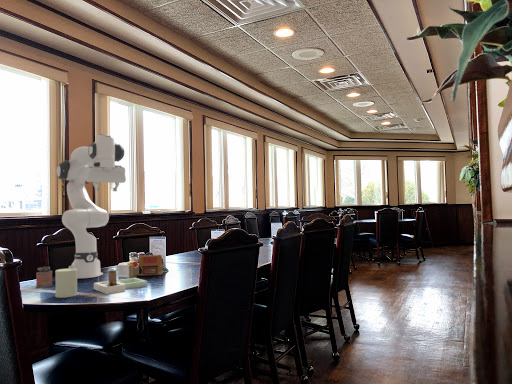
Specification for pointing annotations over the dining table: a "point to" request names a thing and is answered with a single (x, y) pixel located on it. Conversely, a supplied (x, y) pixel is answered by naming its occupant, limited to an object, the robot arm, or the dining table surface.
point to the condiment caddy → (150, 265)
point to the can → (66, 282)
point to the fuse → (112, 276)
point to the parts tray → (133, 283)
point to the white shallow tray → (109, 287)
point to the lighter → (44, 277)
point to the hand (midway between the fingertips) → (106, 191)
